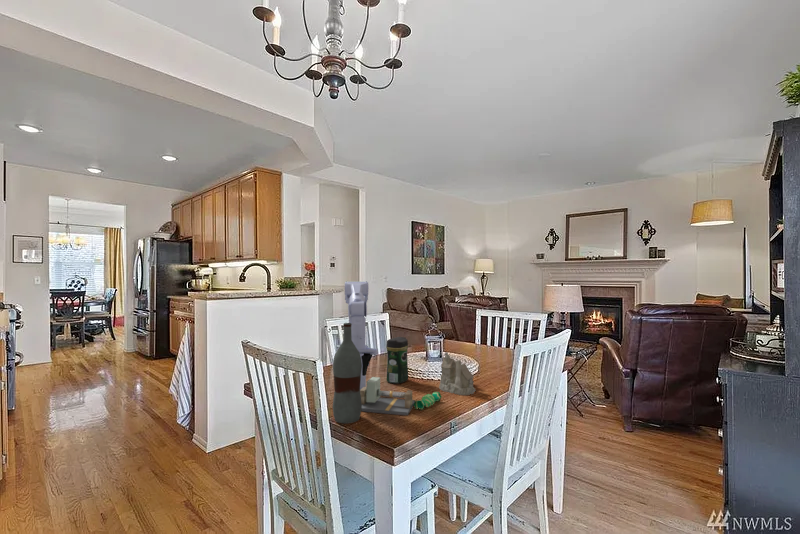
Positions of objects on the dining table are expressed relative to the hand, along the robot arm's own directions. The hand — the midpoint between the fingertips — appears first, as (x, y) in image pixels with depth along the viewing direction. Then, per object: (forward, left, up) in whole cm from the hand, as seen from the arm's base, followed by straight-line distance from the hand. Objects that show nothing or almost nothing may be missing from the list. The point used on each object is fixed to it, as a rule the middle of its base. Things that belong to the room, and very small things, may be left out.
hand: (357, 374), depth 133 cm
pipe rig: (+10, 0, -10) cm, 15 cm away
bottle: (+1, -13, -11) cm, 17 cm away
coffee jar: (+6, +31, -11) cm, 34 cm away
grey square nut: (+6, 0, -8) cm, 10 cm away
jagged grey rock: (+33, +28, -11) cm, 45 cm away
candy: (+24, +6, -11) cm, 27 cm away
